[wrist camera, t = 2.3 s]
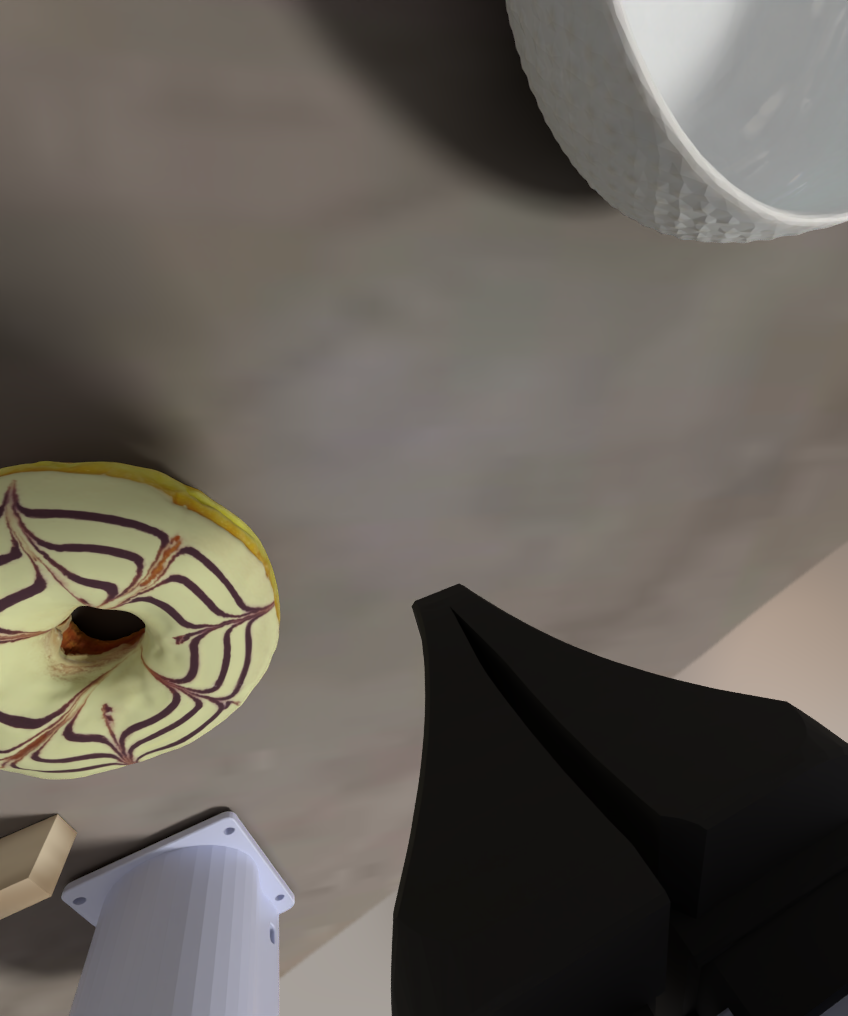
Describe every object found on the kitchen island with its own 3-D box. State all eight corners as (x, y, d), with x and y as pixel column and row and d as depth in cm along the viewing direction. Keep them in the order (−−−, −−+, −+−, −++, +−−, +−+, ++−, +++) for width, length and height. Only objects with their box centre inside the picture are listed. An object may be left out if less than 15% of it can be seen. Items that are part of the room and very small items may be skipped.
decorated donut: (-151, 650, 14) (-297, 756, 11) (34, 375, 13) (-58, 388, 10) (177, 742, 20) (153, 833, 16) (329, 549, 18) (341, 600, 15)
